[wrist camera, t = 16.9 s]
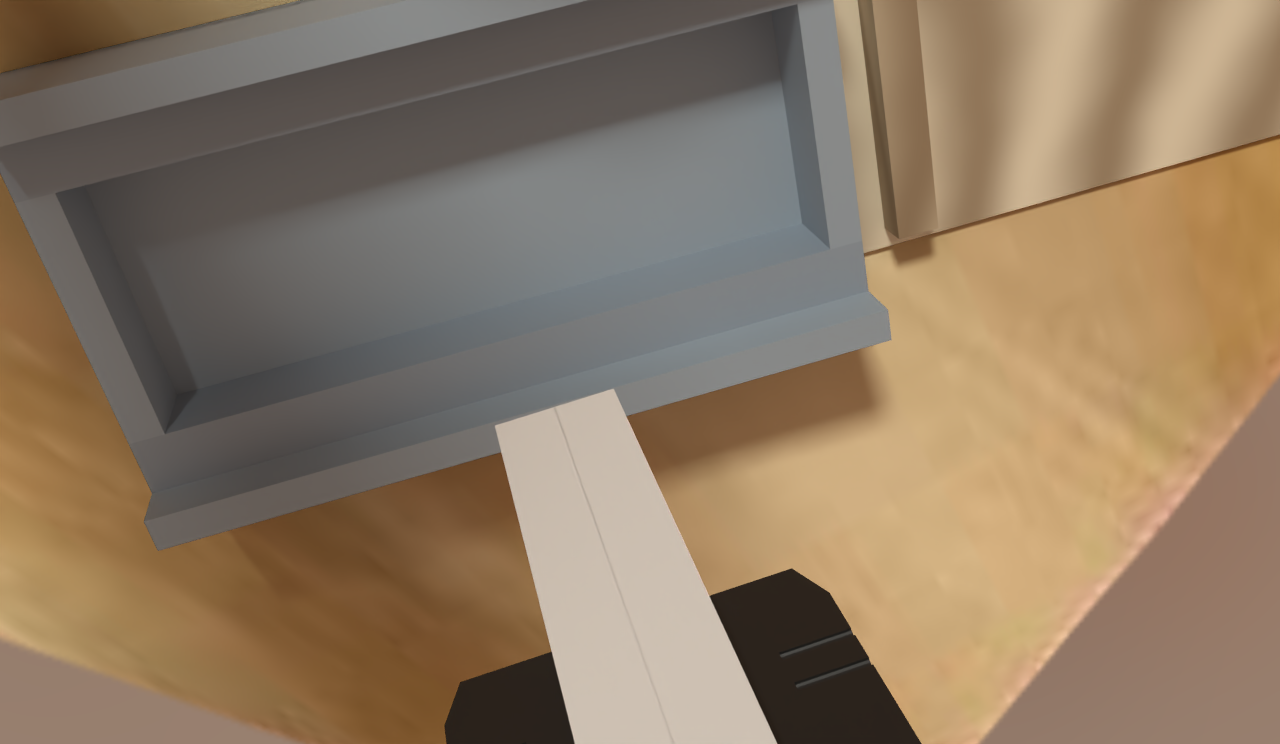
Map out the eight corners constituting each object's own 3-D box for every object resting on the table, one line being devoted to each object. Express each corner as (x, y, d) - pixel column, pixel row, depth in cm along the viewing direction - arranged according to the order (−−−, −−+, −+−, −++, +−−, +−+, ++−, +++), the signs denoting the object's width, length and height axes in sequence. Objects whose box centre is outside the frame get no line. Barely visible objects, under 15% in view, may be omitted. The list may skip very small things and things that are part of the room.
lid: (831, 253, 47) (852, 272, 45) (788, -48, 41) (809, -41, 39) (1386, 95, 49) (1429, 106, 47) (1413, -208, 44) (1462, -209, 42)
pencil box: (179, 467, 44) (158, 550, 39) (0, 73, 37) (-54, 113, 32) (834, 283, 47) (891, 340, 42) (780, -117, 40) (841, -107, 35)
